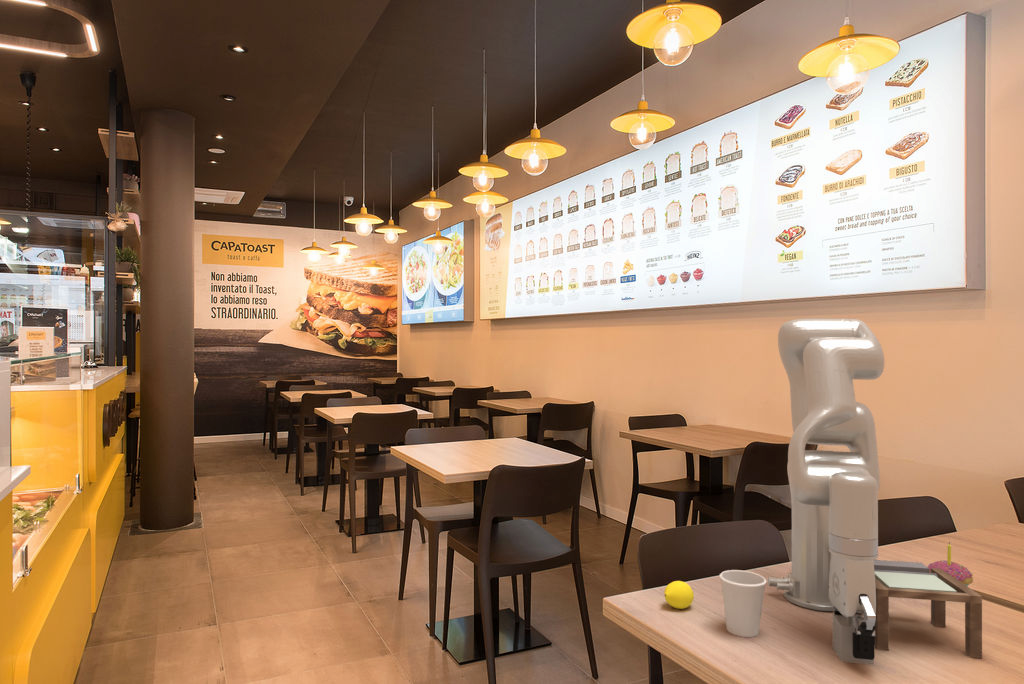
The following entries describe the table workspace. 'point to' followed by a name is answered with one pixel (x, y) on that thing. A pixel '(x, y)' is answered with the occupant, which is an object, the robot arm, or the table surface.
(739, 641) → the table surface
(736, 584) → the dixie cup
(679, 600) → the lemon
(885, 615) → the stand
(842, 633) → the stone
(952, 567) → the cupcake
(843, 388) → the robot arm
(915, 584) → the trapdoor
